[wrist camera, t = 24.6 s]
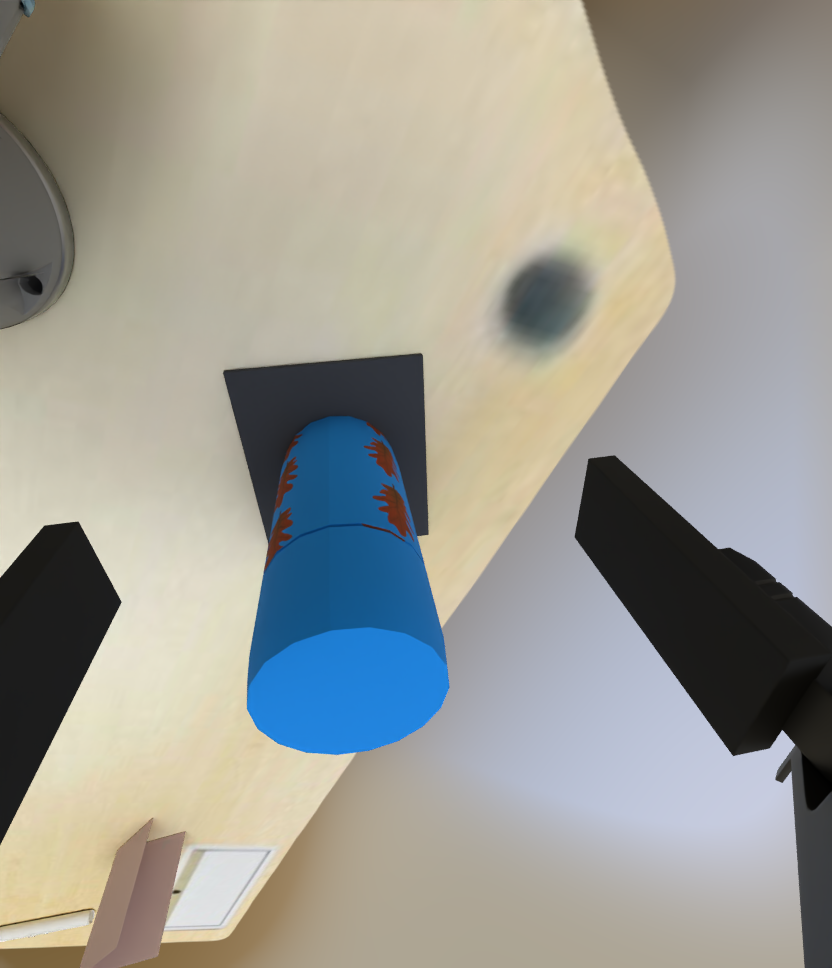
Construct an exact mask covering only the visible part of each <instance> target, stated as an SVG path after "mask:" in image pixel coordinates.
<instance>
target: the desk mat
mask: <svg viewBox="0 0 832 968" xmlns="http://www.w3.org/2000/svg"><path fill="white" fill-rule="evenodd" d="M223 374H224V378H225V382H226V385H227V389H228V393H229V397H230V400H231V404H232V408H233V412H234V415H235V419H236V423H237V427H238V431H239V434H240V438H241V442H242V446H243V449H244V453H245V457H246V461H247V464H248V468H249V472H250V476H251V479H252V483H253V487H254V491H255V495H256V498H257V502H258V506H259V510H260V513H261V517H262V521H263V525H264V528H265V532H266V536H267V540H268V544H269V539H270V533H271V528H272V522H273V516H274V510H275V504H276V499H277V493H278V487H279V481H280V475H281V470H282V466H283V463H284V459H285V456H286V453H287V450H288V448H289V446H290V444H291V443H292V441H293V439H294V437H295V435H296V434H297V433H299V432H300V431H301V430H302V429H304V428H305V427H306V426H307V425H309V424H310V423H311V422H314V421H317V420H320V419H323V418H326V417H329V416H351V417H354V418H357V419H360V420H363V421H366V422H368V423H370V424H371V425H372V426H374V427H375V428H376V429H378V430H379V431H380V432H382V433H383V435H384V436H385V438H386V440H387V441H388V443H389V445H390V446H391V448H392V450H393V453H394V455H395V458H396V461H397V463H398V466H399V469H400V473H401V477H402V481H403V485H404V488H405V492H406V496H407V500H408V504H409V507H410V511H411V515H412V519H413V523H414V527H415V530H416V534H417V536H422V535H428V505H427V473H426V442H425V410H424V379H423V355H422V354H412V355H400V356H389V357H377V358H365V359H354V360H342V361H331V362H319V363H307V364H296V365H284V366H273V367H261V368H249V369H238V370H226V371H224V372H223Z"/></svg>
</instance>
